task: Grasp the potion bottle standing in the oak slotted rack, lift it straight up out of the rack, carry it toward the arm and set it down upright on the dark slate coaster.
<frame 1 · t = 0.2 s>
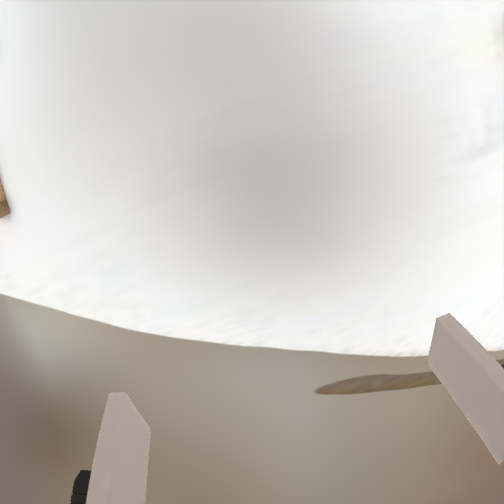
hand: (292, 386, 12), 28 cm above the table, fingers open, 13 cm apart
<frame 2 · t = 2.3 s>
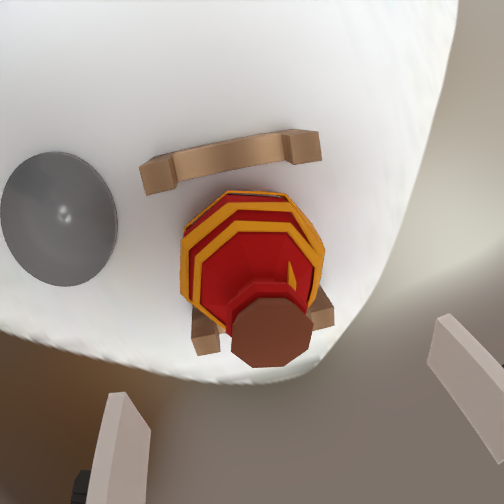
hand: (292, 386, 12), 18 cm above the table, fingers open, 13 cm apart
rack: (241, 230, 28), on the table
potion bottle: (241, 229, 28), on the table
coaster: (55, 221, 25), on the table
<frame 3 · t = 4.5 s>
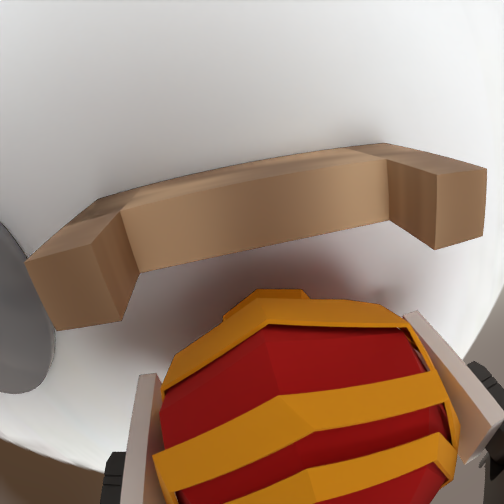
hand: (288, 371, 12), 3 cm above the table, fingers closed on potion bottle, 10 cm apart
rack: (275, 331, 15), on the table
potion bottle: (274, 328, 15), on the table, touching gripper
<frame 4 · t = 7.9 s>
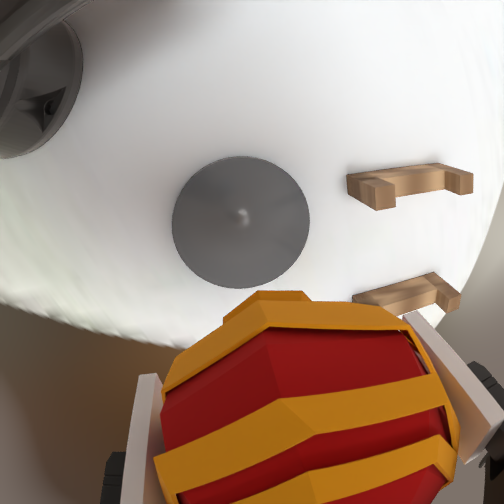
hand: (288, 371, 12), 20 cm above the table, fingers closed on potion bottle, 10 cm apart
rack: (398, 237, 33), on the table
potion bottle: (274, 330, 15), point 17 cm above the table, touching gripper
coaster: (241, 224, 30), on the table
when the fingers open (5 cm above the table, at t = 11.5 s): potion bottle drops 1 cm, resting on coaster.
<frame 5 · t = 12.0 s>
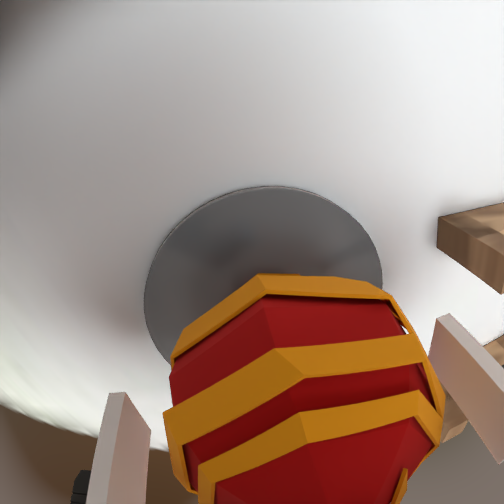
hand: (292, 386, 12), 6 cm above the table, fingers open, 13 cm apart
rack: (482, 300, 20), on the table
potion bottle: (274, 311, 17), point 1 cm above the table, touching coaster
coaster: (267, 306, 17), on the table
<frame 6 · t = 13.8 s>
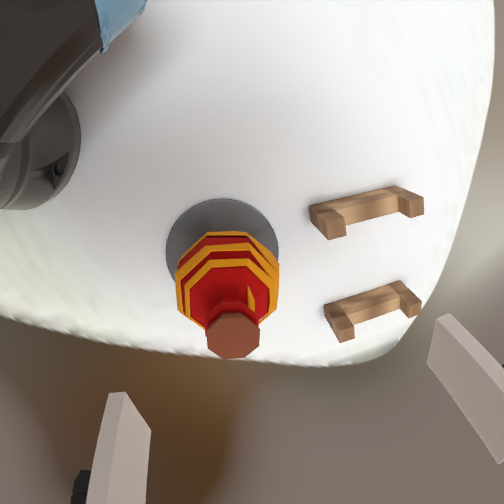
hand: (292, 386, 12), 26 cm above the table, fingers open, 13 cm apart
rack: (361, 254, 40), on the table
potion bottle: (224, 255, 37), point 1 cm above the table, touching coaster
coaster: (222, 253, 37), on the table
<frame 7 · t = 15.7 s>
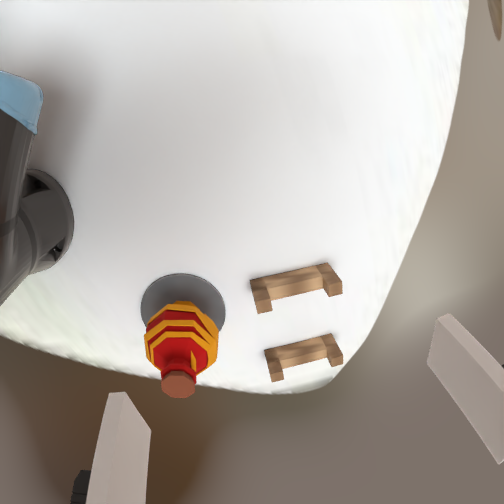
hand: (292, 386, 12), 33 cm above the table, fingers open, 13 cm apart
rack: (295, 314, 50), on the table
potion bottle: (184, 313, 47), point 1 cm above the table, touching coaster
coaster: (182, 311, 47), on the table
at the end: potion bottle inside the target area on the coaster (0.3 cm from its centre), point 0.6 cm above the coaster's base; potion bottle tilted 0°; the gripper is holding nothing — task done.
